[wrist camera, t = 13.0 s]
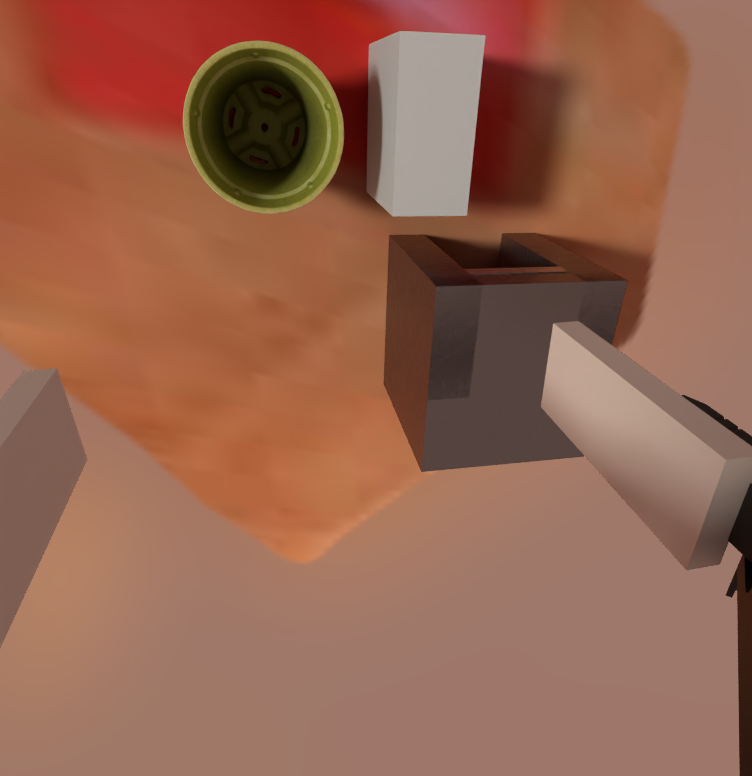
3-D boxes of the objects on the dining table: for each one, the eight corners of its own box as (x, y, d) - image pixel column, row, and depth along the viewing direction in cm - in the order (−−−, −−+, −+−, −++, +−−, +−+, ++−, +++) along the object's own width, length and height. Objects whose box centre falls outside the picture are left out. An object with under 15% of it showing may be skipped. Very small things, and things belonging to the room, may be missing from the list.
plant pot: (206, 31, 37) (192, 16, 29) (341, 73, 39) (360, 69, 32) (190, 175, 41) (175, 194, 33) (314, 205, 43) (326, 228, 36)
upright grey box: (368, 44, 39) (400, 30, 30) (436, 47, 40) (485, 35, 31) (366, 191, 44) (392, 216, 35) (426, 191, 45) (466, 215, 36)
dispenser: (389, 235, 46) (436, 286, 33) (534, 233, 48) (627, 280, 36) (383, 383, 52) (421, 471, 40) (511, 375, 54) (583, 456, 42)
